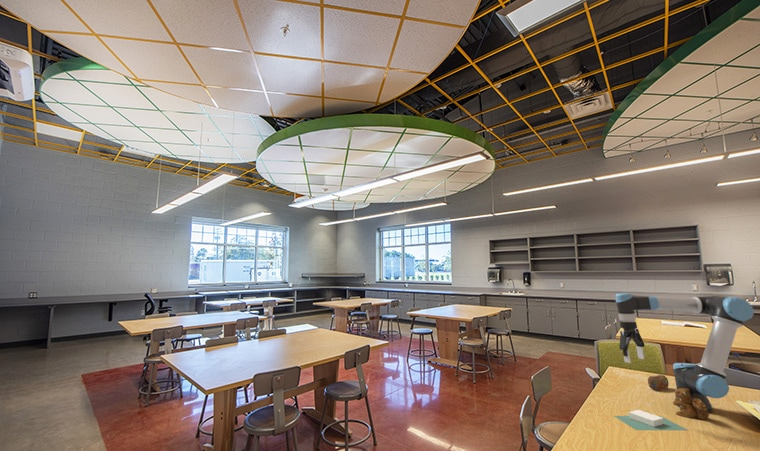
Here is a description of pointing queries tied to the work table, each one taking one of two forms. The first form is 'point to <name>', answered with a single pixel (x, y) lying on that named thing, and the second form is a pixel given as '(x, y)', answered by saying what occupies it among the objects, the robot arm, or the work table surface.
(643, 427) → the mat
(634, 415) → the card box
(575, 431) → the work table surface
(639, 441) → the work table surface
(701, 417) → the stuffed squirrel
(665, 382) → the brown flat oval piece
